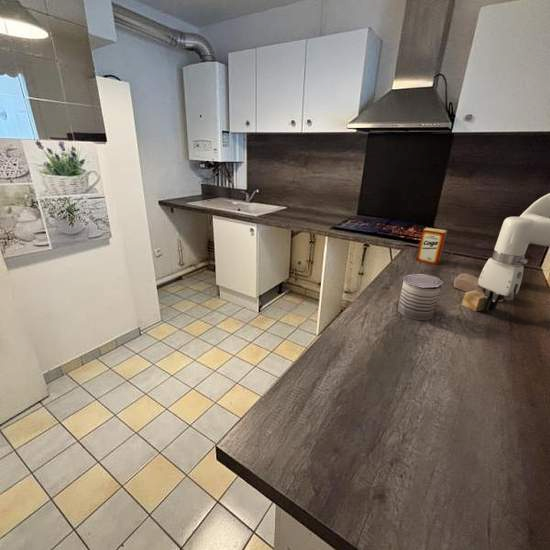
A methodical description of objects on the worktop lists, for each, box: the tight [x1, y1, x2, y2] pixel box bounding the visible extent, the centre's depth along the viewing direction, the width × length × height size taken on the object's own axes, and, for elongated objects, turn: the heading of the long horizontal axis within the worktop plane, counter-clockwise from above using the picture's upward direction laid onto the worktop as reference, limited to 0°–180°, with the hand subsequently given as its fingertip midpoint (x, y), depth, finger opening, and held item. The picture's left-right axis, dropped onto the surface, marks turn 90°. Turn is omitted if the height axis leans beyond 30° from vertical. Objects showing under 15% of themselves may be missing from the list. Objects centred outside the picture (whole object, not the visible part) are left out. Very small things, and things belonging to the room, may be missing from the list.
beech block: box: [461, 290, 486, 312], centre depth 100 cm, size 5×5×5 cm
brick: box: [453, 272, 505, 303], centre depth 112 cm, size 17×8×5 cm, turn 39°
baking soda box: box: [415, 227, 448, 266], centre depth 142 cm, size 10×6×16 cm
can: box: [397, 273, 445, 321], centre depth 95 cm, size 11×11×12 cm
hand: (488, 309), depth 97 cm, fingers closed
